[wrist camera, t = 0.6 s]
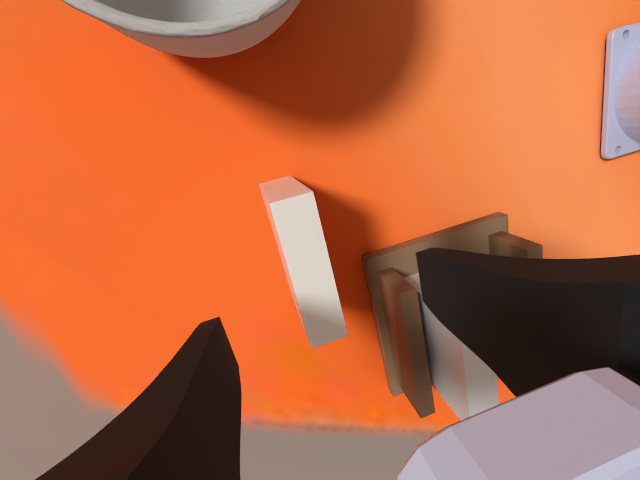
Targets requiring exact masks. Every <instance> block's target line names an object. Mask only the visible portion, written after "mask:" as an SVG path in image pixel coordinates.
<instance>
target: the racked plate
mask: <svg viewBox="0 0 640 480" xmlns="http://www.w3.org/2000/svg"><path fill="white" fill-rule="evenodd" d="M404 278H405V279H406V280H407V281H408V282H410V283H411V284H412V285H413V286H414V287H416V288H417V295H418V301H419V308H420V315H421V321H422V328H423V335H424V341H425V348H426V354H427V361H428V368H429V374H430V381H431V384H432V385H433V386H434V387H435V389H436V390H437V391H438V392H439V394H440V395H441V396H442V398H443V399H444V400H445V401H446V403H447V404H448V405H449V406H450V408H451V409H452V410H453V411H454V413H455V414H456V415H457V416H458V418H459V419H460V420H463V419H466V418H468V417H470V416H473V415H475V414H478V413H480V412H482V411H485V410H487V409H489V408H492V407H494V406H497V405H499V398H498V383H497V375H496V374H495V373H494V372H493V371H492V370H491V369H490V368H489V367H488V366H487V365H486V364H485V363H484V362H483V361H482V360H481V359H480V358H479V357H478V356H477V355H475V354H474V353H473V352H472V351H471V350H470V349H469V348H468V347H467V346H466V345H464V344H463V343H462V342H461V341H460V340H459V339H458V338H457V337H456V336H455V335H453V334H452V333H451V332H450V331H449V330H448V329H447V328H446V327H445V326H444V325H443V324H442V323H441V322H440V321H439V320H438V319H437V318H436V317H435V316H434V315H433V313H432V312H431V311H430V310H429V308H428V307H427V306H426V305H425V303H424V302H423V300H422V293H421V286H420V279H419V273H416V274H413V275H410V276H407V277H404Z"/></svg>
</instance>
